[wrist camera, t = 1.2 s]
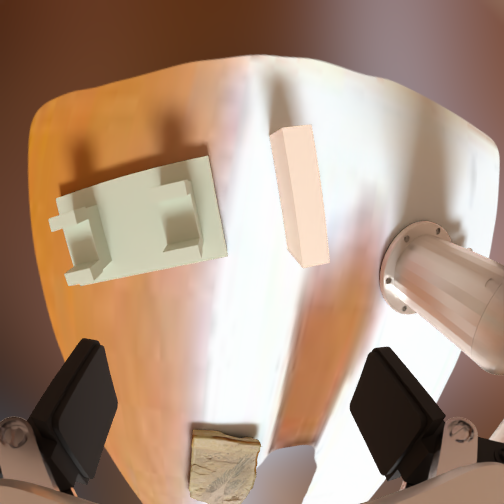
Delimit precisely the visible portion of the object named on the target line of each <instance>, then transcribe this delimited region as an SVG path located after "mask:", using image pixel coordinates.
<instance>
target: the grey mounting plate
mask: <svg viewBox="0 0 504 504" xmlns="http://www.w3.org/2000/svg"><path fill="white" fill-rule="evenodd" d="M56 202H57V207H58V211H59V215H58V216H55V217H53V218H50V219H48V220H49V224H50V228H51V232H53V231H56V230H59V229H63V231H64V235H65V239H66V242H67V246H68V249H69V252H70V256H71V259H72V262H73V265H74V267H73V268H71V269H70V270H69V271H68V272H66V273H65V274H64V275H65V278H66V280H67V283H68V286H72V285H77V284H80V286H83V285H88V284H93V283H98V282H103V281H108V280H112V279H117V278H122V277H127V276H132V275H137V274H142V273H147V272H152V271H157V270H162V269H167V268H172V267H177V266H182V265H187V264H192V263H197V262H202V261H207V260H212V259H217V258H222V257H227V256H228V253H227V248H226V243H225V238H224V233H223V228H222V224H221V219H220V214H219V208H218V203H217V198H216V193H215V188H214V183H213V178H212V172H211V167H210V162H209V156H204V157H199V158H194V159H190V160H185V161H181V162H176V163H172V164H168V165H164V166H160V167H156V168H152V169H148V170H144V171H141V172H137V173H133V174H130V175H126V176H123V177H119V178H116V179H113V180H109V181H106V182H103V183H100V184H97V185H94V186H91V187H87V188H84V189H82V190H79V191H76V192H73V193H70V194H67V195H64V196H62V197H59V198H56Z"/></svg>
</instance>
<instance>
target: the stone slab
mask: <svg viewBox="0 0 504 504" xmlns="http://www.w3.org/2000/svg"><path fill="white" fill-rule="evenodd" d="M191 447H192V454H191V455H192V457H191V468H190V483H189V491H190V497H191V498H193V499H196V500H198V501H203V502H206V503H208V504H241V503H242V501H243V500H244V499H245V498H246V497H247V495H248V494H249V491H250V490H251V489H252V488H253V485H254V481H255V478H256V466H257V458H258V453H259V452H260V447H261V444H260V442H259V440H257V439H253V438H252V437H243V438H237V437H232V436H229V435H225V434H224V433H222V432H220V431H214V430H196V429H193V435H192V444H191Z"/></svg>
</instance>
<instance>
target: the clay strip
mask: <svg viewBox="0 0 504 504" xmlns="http://www.w3.org/2000/svg"><path fill="white" fill-rule="evenodd" d="M269 137H270V143H271V148H272V154H273V160H274V166H275V172H276V178H277V184H278V190H279V196H280V202H281V209H282V215H283V222H284V228H285V235H286V242H287V249H288V251H289V252H290V253H291V255H292V256H293V257H294V258H295V259H296V261H297V262H298V263H299V264H300V265H301V267H302V268H307V267H312V266H316V265H321V264H325V263H330V261H329V250H328V240H327V230H326V221H325V212H324V204H323V196H322V189H321V181H320V175H319V168H318V161H317V155H316V149H315V143H314V137H313V131H312V126H311V125H302V126H292V127H283V128H281V129H279V130H278V131H276V132H274V133H273V134H271V135H270V136H269Z"/></svg>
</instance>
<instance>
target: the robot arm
mask: <svg viewBox="0 0 504 504" xmlns="http://www.w3.org/2000/svg"><path fill="white" fill-rule="evenodd" d="M380 288H381V292H382V295H383V298H384V299H385V301H386V303H387V304H388V305H389V306H390V307H391V308H392V309H394V310H395V311H396V312H399V313H401V314H414V313H418V314H419V315H420V316H422V317H423V318H424V319H425V320H426V321H428V322H429V323H430V324H431V325H432V326H434V327H435V328H436V329H437V330H438V331H440V332H441V333H442V334H443V335H444V336H446V337H447V338H448V339H449V340H450V341H451V342H453V343H454V344H455V345H456V346H457V347H458V348H460V349H461V350H462V351H463V352H464V353H465V354H466V355H468V356H469V357H470V358H471V359H472V360H473V361H474V362H475V363H477V364H478V365H479V366H480V367H481V368H482V369H484V370H485V371H487V372H489V373H491V374H495V375H504V265H502V264H500V263H497V262H495V261H493V260H491V259H489V258H487V257H484V256H482V255H480V254H477V253H475V252H473V251H472V249H471V248H467V249H466V248H463V247H461V246H459V245H456V244H454V243H452V242H451V239H450V237H449V235H448V233H447V232H446V230H445V229H444V228H442V227H441V226H440V225H438V224H436V223H433V222H430V221H419V222H415V223H413V224H411V225H409V226H407V227H406V228H405V229H403V230H402V231H401V232H400V233H399V234H398V235H397V236H396V237H395V238H394V240H393V241H392V243H391V244H390V246H389V248H388V250H387V252H386V254H385V256H384V259H383V262H382V266H381V271H380ZM117 406H118V401H117V397H116V393H115V390H114V386H113V382H112V379H111V375H110V371H109V367H108V362H107V358H106V353H105V349H104V346H102V345H100V343H99V341H97V340H91V339H86V338H83V339H82V340H81V341H80V342H79V343H78V345H77V346H76V348H75V349H74V350H73V352H72V353H71V355H70V356H69V357H68V359H67V360H66V362H65V363H64V365H63V366H62V368H61V369H60V371H59V372H58V373H57V375H56V376H55V378H54V379H53V380H52V382H51V383H50V385H49V387H48V388H47V390H46V391H45V393H44V394H43V396H42V397H41V399H40V401H39V402H38V404H37V405H36V407H35V409H34V410H33V412H32V414H31V415H30V417H29V419H28V420H27V421H26V420H24V419H22V418H19V417H9V418H6V419H4V420H3V421H1V422H0V504H98V503H95V502H91V501H88V500H85V499H81V498H78V497H77V495H76V493H75V491H74V489H73V487H74V485H75V482H80V483H82V484H86V485H87V484H88V481H89V478H90V479H93V477H94V476H95V473H96V469H97V466H98V463H99V460H100V457H101V453H102V450H103V447H104V444H105V441H106V438H107V435H108V433H109V430H110V427H111V424H112V421H113V418H114V416H115V413H116V410H117ZM350 411H351V414H352V416H353V418H354V420H355V422H356V424H357V426H358V428H359V430H360V432H361V434H362V436H363V438H364V440H365V442H366V444H367V446H368V448H369V450H370V453H371V455H372V457H373V459H374V461H375V463H376V465H377V467H378V469H379V471H380V473H381V474H382V475H385V477H386V479H387V481H390V480H393V479H396V478H398V477H400V476H402V478H403V483H402V486H401V488H400V491H398V492H395V493H392V494H389V495H387V496H383V497H381V498H377V499H374V500H371V501H367V502H364V503H360V504H504V420H503V421H502V422H501V424H500V425H499V426H498V428H497V429H496V430H495V432H494V433H493V434H492V436H491V437H490V439H484V438H480V437H478V433H477V429H476V427H475V426H474V424H473V423H472V422H470V421H469V420H467V419H465V418H462V417H454V418H451V419H449V420H448V421H447V422H446V423H445V422H444V420H443V419H444V418H445V414H444V413H443V412H442V410H441V409H440V408H439V406H438V405H437V404H436V403H435V401H434V400H433V399H432V398H431V396H430V395H429V394H428V393H427V391H426V390H425V389H424V388H423V387H422V385H421V384H420V383H419V382H418V380H417V379H416V378H415V377H414V376H413V374H412V373H411V372H410V371H409V370H408V368H407V367H406V366H405V365H404V364H403V362H402V361H401V360H400V359H399V358H398V356H397V355H396V354H395V353H394V352H393V350H392V349H391V348H390V347H380V348H374V349H373V350H372V352H370V353H369V354H368V357H367V360H366V363H365V365H364V368H363V371H362V374H361V377H360V379H359V382H358V385H357V387H356V390H355V392H354V395H353V398H352V400H351V403H350Z"/></svg>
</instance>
